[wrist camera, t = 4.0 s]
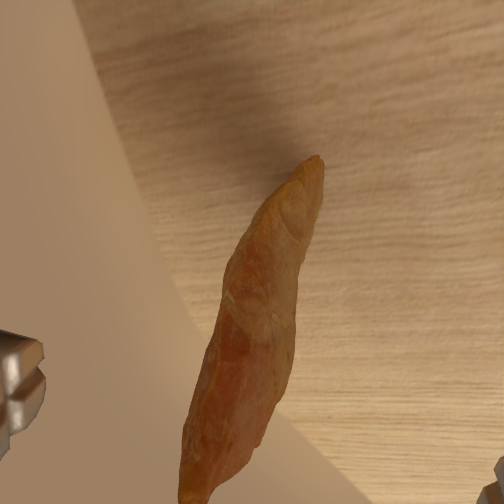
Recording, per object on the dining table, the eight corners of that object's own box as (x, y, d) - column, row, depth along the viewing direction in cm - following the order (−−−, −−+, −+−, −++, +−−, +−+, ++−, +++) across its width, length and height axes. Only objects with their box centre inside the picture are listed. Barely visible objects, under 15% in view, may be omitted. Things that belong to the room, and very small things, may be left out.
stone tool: (270, 137, 19) (114, 352, 5) (326, 137, 19) (306, 368, 5) (271, 247, 21) (159, 601, 8) (321, 249, 21) (299, 625, 7)
